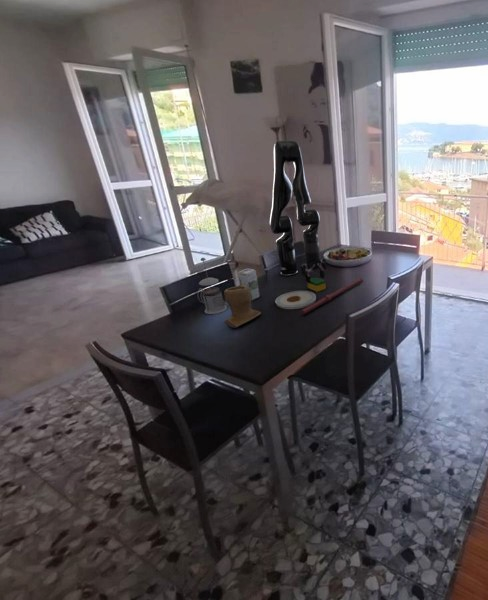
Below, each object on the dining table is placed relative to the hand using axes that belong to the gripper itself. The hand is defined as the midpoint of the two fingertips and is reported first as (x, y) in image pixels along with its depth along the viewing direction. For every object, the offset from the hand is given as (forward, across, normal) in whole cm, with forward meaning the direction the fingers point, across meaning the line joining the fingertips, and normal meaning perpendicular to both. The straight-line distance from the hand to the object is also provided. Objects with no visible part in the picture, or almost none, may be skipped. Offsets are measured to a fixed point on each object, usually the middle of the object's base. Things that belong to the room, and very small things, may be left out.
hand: (315, 280), depth 185 cm
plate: (+4, +17, +6) cm, 18 cm away
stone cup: (+4, +44, +6) cm, 44 cm away
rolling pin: (+4, +2, +18) cm, 19 cm away
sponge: (+4, +1, +2) cm, 4 cm away
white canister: (+4, +29, -13) cm, 32 cm away
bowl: (+5, -40, -20) cm, 45 cm away
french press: (+4, +47, -14) cm, 49 cm away
